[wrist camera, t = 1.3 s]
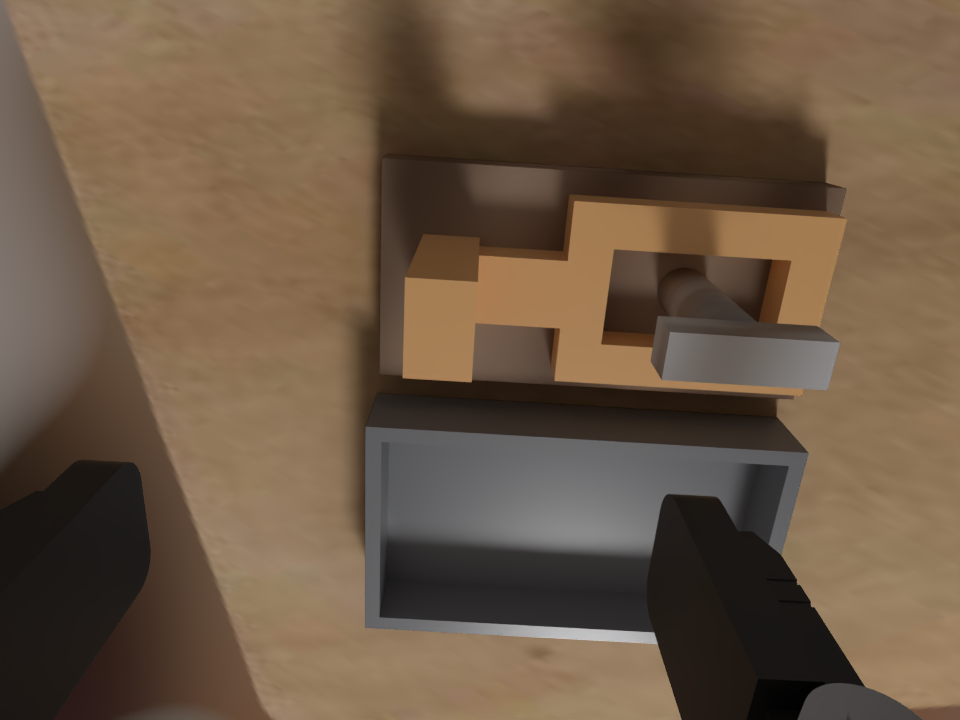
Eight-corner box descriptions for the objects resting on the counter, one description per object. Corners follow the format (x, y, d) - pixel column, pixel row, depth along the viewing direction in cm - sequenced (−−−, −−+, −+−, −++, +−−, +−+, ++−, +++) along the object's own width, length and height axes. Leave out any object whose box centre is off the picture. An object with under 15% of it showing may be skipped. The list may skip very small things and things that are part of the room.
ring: (826, 211, 24) (929, 248, 18) (785, 379, 26) (865, 458, 21) (424, 185, 24) (406, 215, 18) (419, 357, 26) (401, 430, 21)
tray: (777, 417, 29) (808, 453, 26) (732, 600, 32) (755, 649, 29) (377, 393, 28) (365, 426, 26) (375, 580, 32) (364, 627, 29)
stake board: (826, 183, 25) (980, 226, 17) (778, 383, 28) (890, 498, 20) (387, 154, 25) (342, 184, 17) (384, 360, 28) (345, 466, 20)
